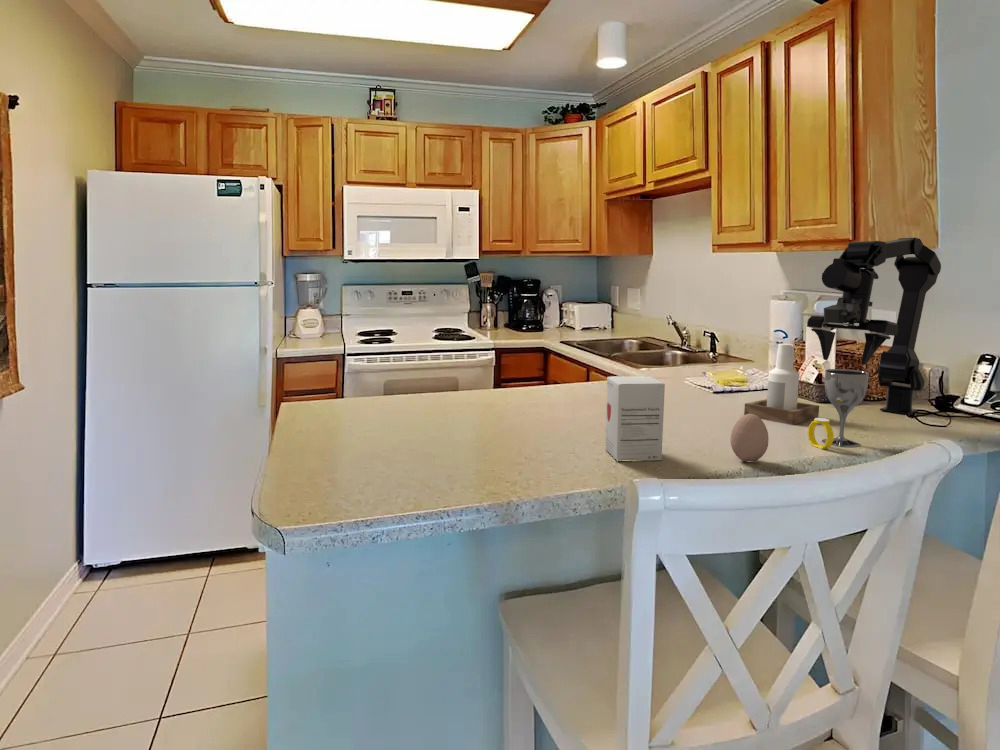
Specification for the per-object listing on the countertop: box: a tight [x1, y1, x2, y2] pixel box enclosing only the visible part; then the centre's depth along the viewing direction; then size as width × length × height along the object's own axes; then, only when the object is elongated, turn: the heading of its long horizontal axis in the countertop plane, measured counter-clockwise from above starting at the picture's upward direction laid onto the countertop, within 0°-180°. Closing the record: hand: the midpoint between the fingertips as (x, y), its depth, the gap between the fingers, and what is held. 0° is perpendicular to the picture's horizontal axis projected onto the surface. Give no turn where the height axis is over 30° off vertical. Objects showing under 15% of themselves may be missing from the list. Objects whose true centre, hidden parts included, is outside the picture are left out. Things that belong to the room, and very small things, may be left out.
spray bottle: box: [766, 343, 800, 411], centre depth 158 cm, size 7×7×18 cm
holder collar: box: [743, 398, 820, 425], centre depth 160 cm, size 12×12×3 cm
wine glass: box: [821, 368, 870, 448], centre depth 134 cm, size 8×8×15 cm
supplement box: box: [605, 375, 666, 461], centre depth 124 cm, size 9×9×15 cm
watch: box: [807, 417, 835, 450], centre depth 131 cm, size 6×3×6 cm, turn 12°
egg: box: [730, 414, 770, 462], centre depth 120 cm, size 7×7×9 cm
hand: (843, 362), depth 150 cm, fingers open, 9 cm apart
